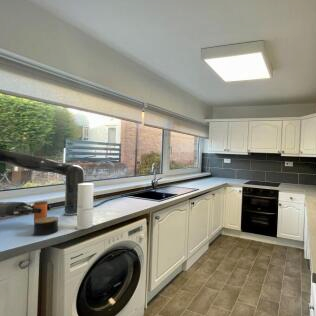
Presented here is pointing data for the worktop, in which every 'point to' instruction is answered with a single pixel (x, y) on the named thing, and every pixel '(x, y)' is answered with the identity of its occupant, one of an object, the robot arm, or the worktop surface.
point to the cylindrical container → (85, 205)
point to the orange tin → (42, 206)
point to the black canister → (45, 226)
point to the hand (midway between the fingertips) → (45, 209)
